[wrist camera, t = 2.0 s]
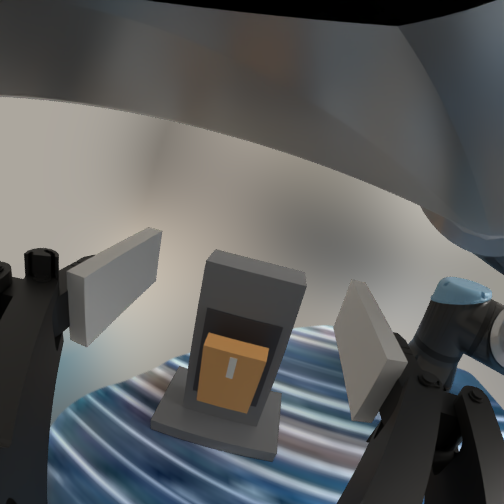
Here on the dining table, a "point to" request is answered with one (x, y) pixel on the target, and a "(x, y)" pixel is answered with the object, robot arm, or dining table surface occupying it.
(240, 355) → the rocker
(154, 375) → the dining table surface
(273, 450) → the switch stand
